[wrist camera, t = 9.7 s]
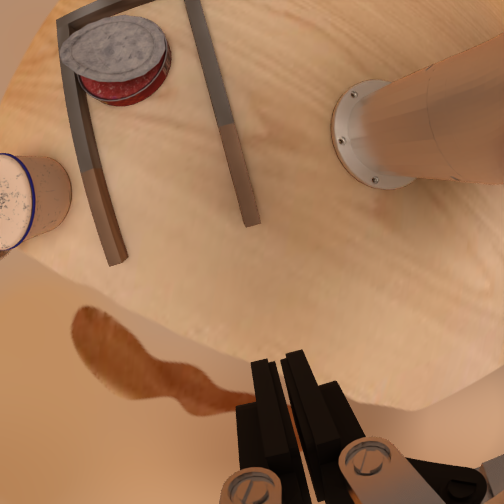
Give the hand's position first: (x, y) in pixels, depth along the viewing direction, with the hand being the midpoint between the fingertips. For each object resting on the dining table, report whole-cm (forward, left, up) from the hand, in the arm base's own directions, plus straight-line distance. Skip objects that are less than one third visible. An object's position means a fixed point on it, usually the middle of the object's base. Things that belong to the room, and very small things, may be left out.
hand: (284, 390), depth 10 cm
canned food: (+7, -22, -25) cm, 34 cm away
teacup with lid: (+22, -10, -25) cm, 35 cm away
